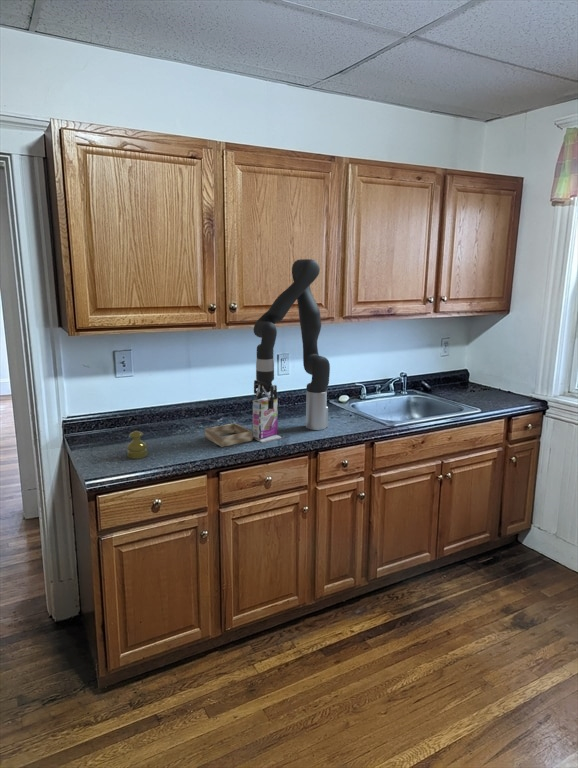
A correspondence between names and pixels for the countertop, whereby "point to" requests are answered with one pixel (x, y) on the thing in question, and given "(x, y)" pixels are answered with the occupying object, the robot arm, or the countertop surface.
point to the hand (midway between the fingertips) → (265, 406)
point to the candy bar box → (264, 419)
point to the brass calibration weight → (136, 446)
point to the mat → (268, 438)
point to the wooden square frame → (239, 437)
